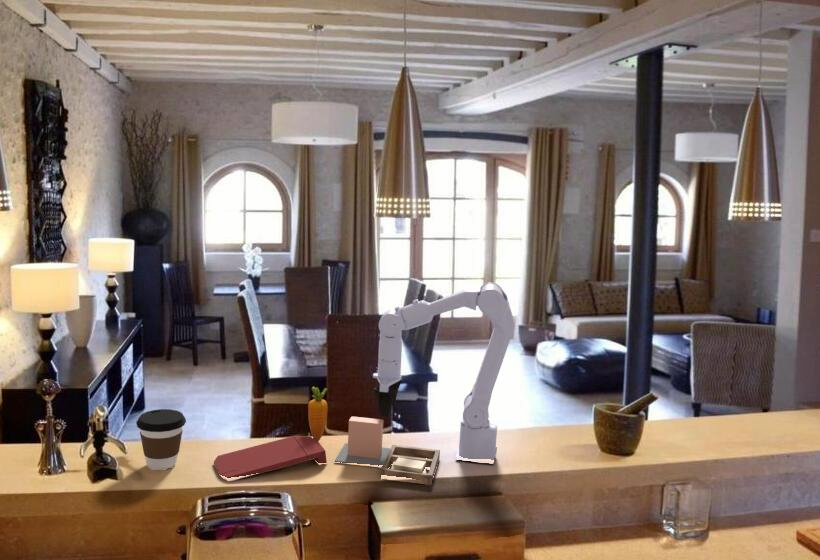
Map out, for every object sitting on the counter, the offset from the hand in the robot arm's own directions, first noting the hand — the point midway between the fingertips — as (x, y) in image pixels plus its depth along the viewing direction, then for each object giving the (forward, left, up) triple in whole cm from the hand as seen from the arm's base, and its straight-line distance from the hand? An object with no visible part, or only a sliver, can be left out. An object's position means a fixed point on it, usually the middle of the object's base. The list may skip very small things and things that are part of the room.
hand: (387, 410), depth 197 cm
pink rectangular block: (+4, +6, -10) cm, 12 cm away
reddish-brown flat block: (+25, +17, -11) cm, 32 cm away
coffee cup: (+49, +24, -11) cm, 55 cm away
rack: (-8, +10, -10) cm, 16 cm away
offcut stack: (-8, +14, -11) cm, 19 cm away
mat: (+4, +6, -10) cm, 13 cm away
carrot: (+18, +1, -11) cm, 21 cm away
